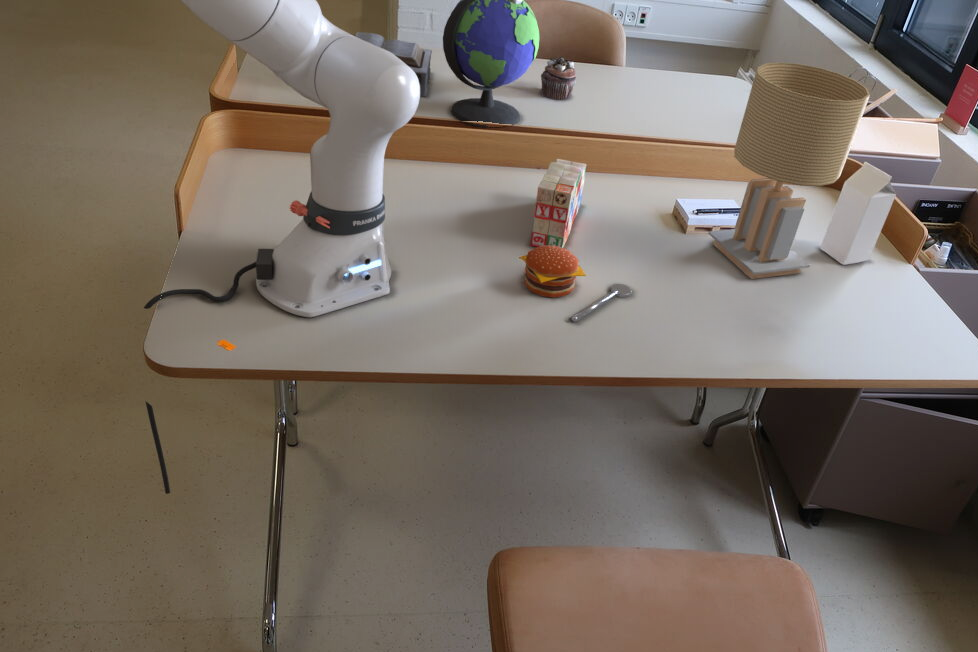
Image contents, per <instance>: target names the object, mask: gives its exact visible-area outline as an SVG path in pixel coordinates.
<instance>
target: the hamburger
mask: <svg viewBox="0 0 978 652" xmlns="http://www.w3.org/2000/svg"><path fill="white" fill-rule="evenodd" d="M518 259H520V260H522V261H523V262H524V263H525V267H524V271H525V273H524V276H523V284H524V285H525V287H526V288H527V289H528V290H529V291H530V292H532V293H533V294H536V295H538V296H541V297H547V298H561V297H562V298H563V297H565V296H567V295H570V293H572V292H573V291H574V289H575V284H576V279H577V277H586V276H587V274H586V273H585V271H584V270H583V269H582V267H581V266H580V264H579V259H578V258H577V256H575V255H574V254H573V253H572V252H571V251H570V250H569V249H566V248H564V247H563V248H561V247H558V246H549V245H542V246H539V247H535V248H532V249H530V250H528V252H527V253H526V254H524V255H521V256H518Z"/></svg>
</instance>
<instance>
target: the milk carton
mask: <svg viewBox="0 0 978 652" xmlns="http://www.w3.org/2000/svg"><path fill="white" fill-rule="evenodd" d="M892 178H893V176H892V175H890V174H888V173H886V172H885V171H884V170H882V169H879V168H878V167H876V166H874V165H872V163H869V162H867V161H864V162H863V164H862V166H861V167H860V168H859V169H858V170H856V171H855V172H853V174H852V175H851V176H850V177H848V178H847V179H846V180H845V181H844V183H843V186H842V187H841V192H840V193H839V196H838V198H837V202H836V204H835V207H834V209H833V213H832V215H831V218H830V221H829V223H828V226H827V228H826V231H825V234H824V237H823V239H822V242H821V244H820V247H819V249H820V250H821V251H822V252H824V253H825V254H827V255H828V256H830V257H831V258H833V259H834V260H836V261H837V262H838V263H840V264H841V265H842V266H846V265H852V264H857V263H864V262H868V261H869V260H870V259H871V256H872V254H873V251H874V249H875V248H876V244H877V242H878V240H879V238H880V234H881V232H882V229H883V228H884V225H885V223H886V220H887V218H888V216H889V213H890V211H891V208H892V206H893V203H894V201H895V198H896V196H897V193H896V191H895V188H894V187H893V185H892V183H891V180H892Z"/></svg>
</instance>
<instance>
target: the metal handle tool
mask: <svg viewBox="0 0 978 652" xmlns="http://www.w3.org/2000/svg"><path fill="white" fill-rule="evenodd" d="M631 294H632V288H631V287H630V286H628V285H626V284H623V283H615V284H613V285H611V287H610V293H608V294H606V295H605V296H603V297H601V298H600V299H598V300H597V301H595V302H593V303H592V304H590V305H589V306H587V307H586V308H584V309H582V310H580V311H578V313H576V314H574V315H573V316H572V317H571V321H572V322H573V323H576V322H578V321H579V320H581V319H582V318H584V317H586V316H587V315H589V314H590V313H592V312H593V311H595V310H597V309H598V308H600V307H601V306H603V305H604V304H606V303H607V302H609V301H611V300H612V299H614V298H615V297H619V298H628V297H630V296H631Z"/></svg>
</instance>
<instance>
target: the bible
mask: <svg viewBox="0 0 978 652" xmlns="http://www.w3.org/2000/svg"><path fill="white" fill-rule="evenodd" d="M353 36H355V37H357V38H359V39H361V40H364V41H366V42H368V43H371V44H373V45H375V46H378V47H380V48H382V49H385V50H387V51H389V52H391V53H392V54H394V55H395V56H396V57H398V58H399V59H400V60H402V61H403V62H404V63H405V64H406V65H408V66H409V67H410V68H411V69H412V70H413V71H414V72H415V74H416V75H417V77H418V80H419V84H420V97H422V98H426V96H427V92H428V88H429V84H430V80H431V60H432V53H433V51H432V49H427V48H422V47H421V46H420V45H419V44H418V42H413V41H405V40H400V39H389V40H386V39H385V37H384V36H382V35H380V34H378V33H374V32H360V31H357V32H356V33H355V34H354V35H353Z"/></svg>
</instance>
